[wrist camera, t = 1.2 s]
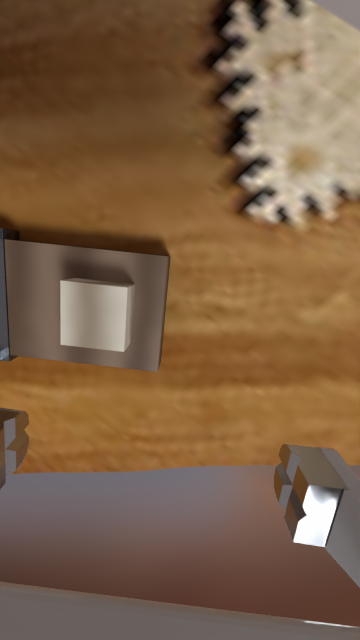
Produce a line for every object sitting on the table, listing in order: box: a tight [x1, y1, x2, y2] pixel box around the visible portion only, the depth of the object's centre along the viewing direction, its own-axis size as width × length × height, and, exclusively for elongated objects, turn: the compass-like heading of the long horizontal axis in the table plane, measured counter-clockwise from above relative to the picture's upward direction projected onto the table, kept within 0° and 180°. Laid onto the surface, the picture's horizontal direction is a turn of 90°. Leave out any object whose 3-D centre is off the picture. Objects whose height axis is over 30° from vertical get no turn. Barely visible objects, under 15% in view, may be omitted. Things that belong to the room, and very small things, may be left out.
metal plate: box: [4, 239, 170, 372], centre depth 28 cm, size 16×12×3 cm
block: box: [60, 278, 135, 352], centre depth 25 cm, size 6×6×3 cm
